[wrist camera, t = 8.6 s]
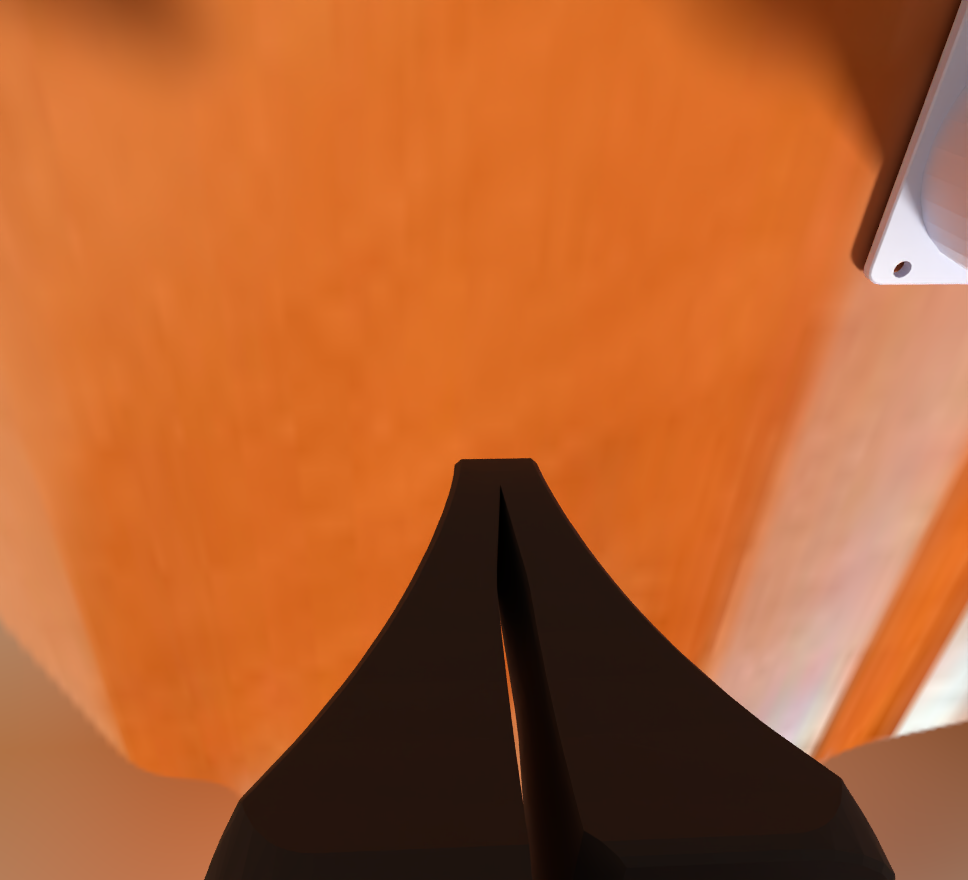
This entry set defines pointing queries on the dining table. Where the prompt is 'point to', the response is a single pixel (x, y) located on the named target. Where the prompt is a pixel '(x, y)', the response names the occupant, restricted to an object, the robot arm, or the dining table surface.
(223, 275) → the dining table surface
